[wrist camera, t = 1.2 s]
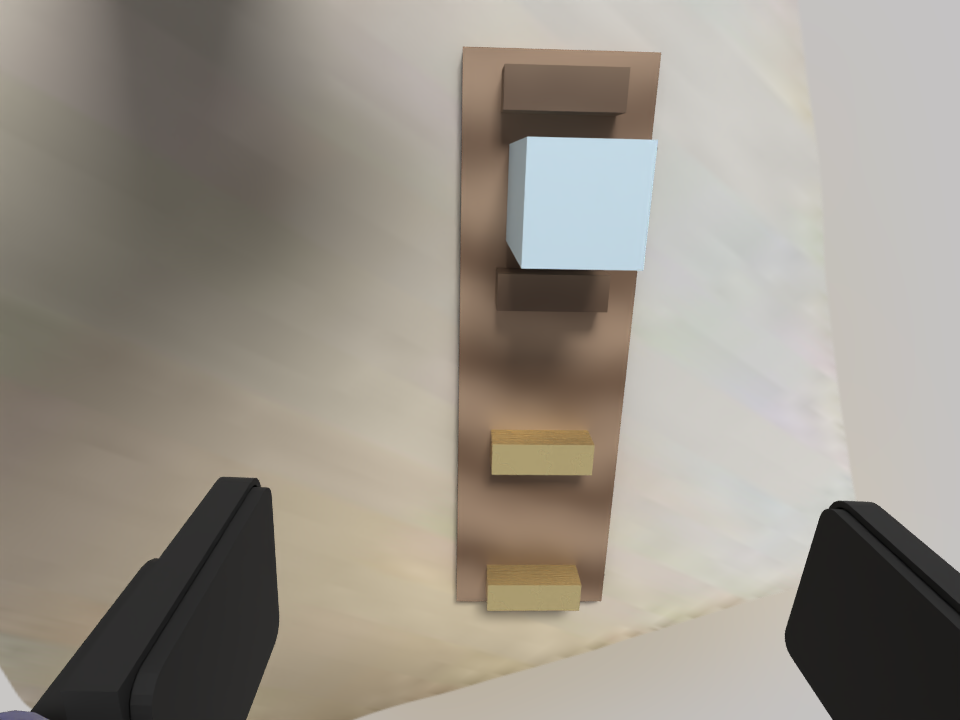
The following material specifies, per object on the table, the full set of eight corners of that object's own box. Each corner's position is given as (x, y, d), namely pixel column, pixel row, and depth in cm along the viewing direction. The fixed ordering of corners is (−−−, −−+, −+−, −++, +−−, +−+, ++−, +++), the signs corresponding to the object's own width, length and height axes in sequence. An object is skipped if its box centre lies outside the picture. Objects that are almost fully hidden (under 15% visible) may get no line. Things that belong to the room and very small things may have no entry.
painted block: (509, 144, 30) (527, 136, 22) (603, 146, 31) (658, 139, 22) (505, 240, 32) (521, 268, 24) (595, 242, 32) (643, 270, 24)
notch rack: (462, 50, 30) (462, 38, 27) (654, 56, 30) (674, 45, 27) (456, 591, 41) (456, 623, 38) (598, 590, 41) (607, 622, 38)
